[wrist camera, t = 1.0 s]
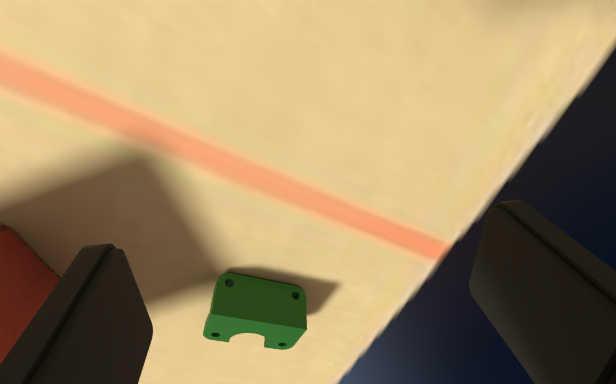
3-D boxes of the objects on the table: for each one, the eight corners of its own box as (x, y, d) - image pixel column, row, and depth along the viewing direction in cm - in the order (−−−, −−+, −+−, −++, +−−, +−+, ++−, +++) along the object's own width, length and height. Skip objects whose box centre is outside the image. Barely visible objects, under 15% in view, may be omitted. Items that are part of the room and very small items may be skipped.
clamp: (228, 276, 48) (188, 330, 41) (238, 251, 44) (197, 305, 37) (302, 321, 48) (275, 383, 40) (319, 299, 44) (292, 363, 37)
